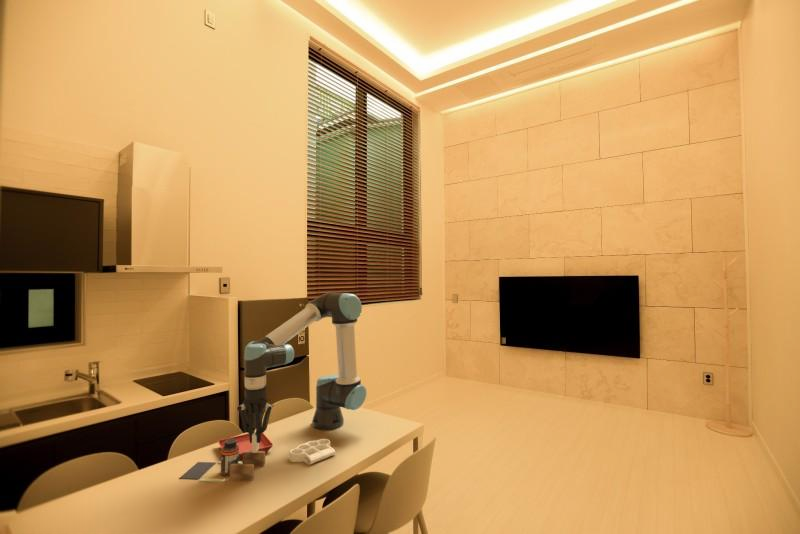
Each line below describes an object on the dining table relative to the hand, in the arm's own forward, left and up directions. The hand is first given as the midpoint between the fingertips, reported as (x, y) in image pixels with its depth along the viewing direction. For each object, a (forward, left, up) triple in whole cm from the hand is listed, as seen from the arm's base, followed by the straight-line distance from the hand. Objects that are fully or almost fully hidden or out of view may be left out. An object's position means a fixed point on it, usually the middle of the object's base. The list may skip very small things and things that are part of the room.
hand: (255, 451), depth 141 cm
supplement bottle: (+9, +1, -8) cm, 12 cm away
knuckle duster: (-18, -15, -8) cm, 24 cm away
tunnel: (+2, +1, -7) cm, 8 cm away
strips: (+12, +1, -7) cm, 14 cm away
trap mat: (+21, +1, -7) cm, 22 cm away
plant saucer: (+11, -17, -8) cm, 22 cm away
